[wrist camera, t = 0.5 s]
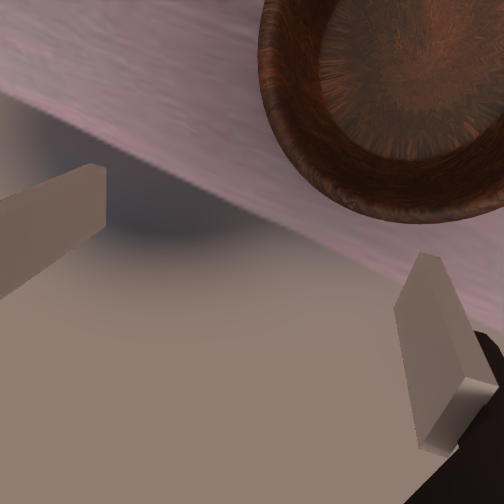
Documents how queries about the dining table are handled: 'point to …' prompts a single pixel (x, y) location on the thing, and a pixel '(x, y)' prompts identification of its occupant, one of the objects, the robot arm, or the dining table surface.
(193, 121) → the dining table surface
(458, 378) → the robot arm
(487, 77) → the wooden bowl
